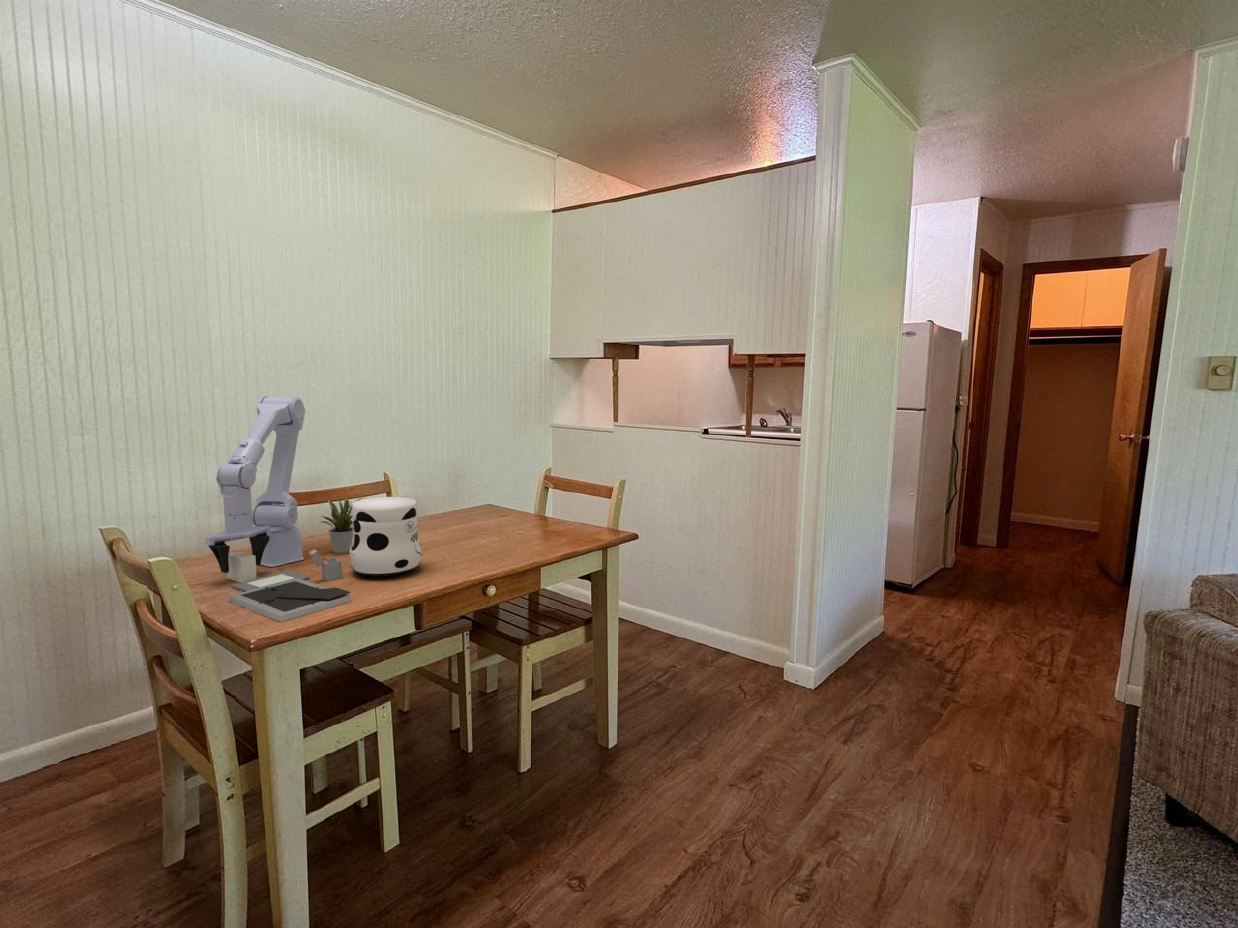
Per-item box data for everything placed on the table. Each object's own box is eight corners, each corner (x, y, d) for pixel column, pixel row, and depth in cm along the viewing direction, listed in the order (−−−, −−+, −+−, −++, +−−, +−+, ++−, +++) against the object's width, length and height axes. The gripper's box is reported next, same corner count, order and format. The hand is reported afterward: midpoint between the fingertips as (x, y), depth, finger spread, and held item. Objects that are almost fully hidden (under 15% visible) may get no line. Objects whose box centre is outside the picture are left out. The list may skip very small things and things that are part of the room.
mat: (288, 573, 164) (288, 570, 164) (309, 579, 160) (309, 576, 160) (231, 587, 152) (230, 584, 152) (252, 594, 148) (252, 591, 148)
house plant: (383, 545, 192) (381, 490, 190) (360, 558, 179) (358, 499, 177) (337, 543, 194) (335, 489, 192) (310, 556, 180) (308, 497, 178)
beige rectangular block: (241, 575, 162) (240, 551, 161) (256, 579, 159) (255, 555, 158) (227, 578, 159) (225, 554, 158) (242, 583, 156) (240, 558, 155)
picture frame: (350, 604, 145) (298, 586, 156) (350, 591, 144) (297, 575, 156) (280, 625, 132) (229, 604, 143) (280, 612, 131) (228, 592, 143)
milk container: (436, 568, 170) (434, 500, 168) (381, 585, 156) (379, 511, 153) (390, 558, 179) (388, 493, 177) (335, 574, 164) (332, 503, 162)
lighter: (338, 576, 163) (337, 544, 162) (342, 577, 162) (340, 545, 161) (309, 582, 157) (308, 549, 156) (312, 583, 156) (311, 551, 155)
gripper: (215, 520, 149) (218, 578, 150) (277, 510, 161) (279, 564, 163) (199, 516, 152) (202, 573, 154) (260, 507, 165) (263, 559, 166)
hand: (241, 568), depth 159 cm, fingers open, 7 cm apart
